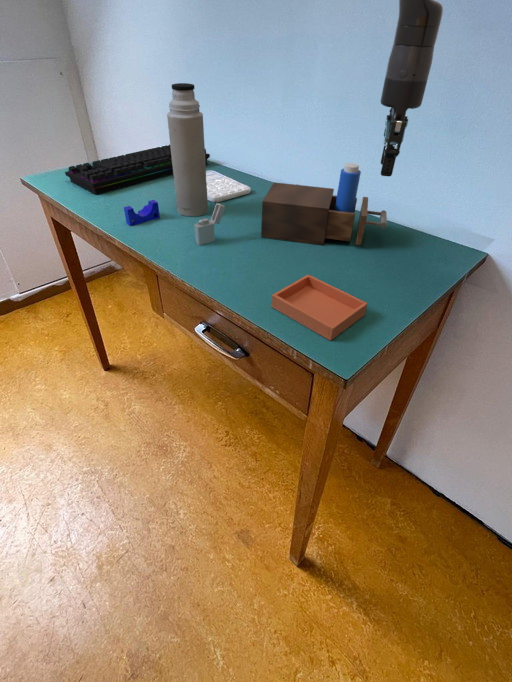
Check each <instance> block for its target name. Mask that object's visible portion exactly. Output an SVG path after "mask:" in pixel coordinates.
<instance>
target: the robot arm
mask: <svg viewBox="0 0 512 682" xmlns="http://www.w3.org/2000/svg"><path fill="white" fill-rule="evenodd" d="M443 12H444V8H443V5H442V4H441V2H439V1H437V0H398V18H397V23H396V27H395V31H394V32H395V33H394V38H393V43H392V47H391V51H390V54H389V57H388V61H387V66H386V71H385V76H384V81H383V86H382V90H381V91H382V92H381V97H380V104H381V105H382V106H384V107H387V108H390V109H389V114H386V117H385V123H384V125H385V127H384V129H383V130H384V131H383V138H384V139H383V142H382V143H383V147H382V154H381V159H380V165H381V169H380V175H381V177H392V176H393V173H394V168H395V163H396V159H397V157H398V156H399V155H400V153H401V145H402V144H403V142H404V137H405V133H406V132H405V131H406V129H407V127H408V124H409V117H408V116H407V115H406V114H407V112H408V110H410V109H411V110H413V109H418V108H420V107H421V106H422V104H423V99H424V96H425V92H426V89H427V88H426V87H427V84H428V79H429V77H430V72H431V68H432V64H433V59H434V50H435V46H436V42H437V39H438V34H439V32H440V31H439V30H440V26H441V24H442V23H441V22H442V17H443V14H444V13H443Z"/></svg>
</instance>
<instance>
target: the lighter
mask: <svg viewBox="0 0 512 682" xmlns="http://www.w3.org/2000/svg"><path fill="white" fill-rule="evenodd" d="M225 209H226V205H224V204H222V203H220V202H216V204H215V206H214V209H213V212H212V215H211V217H210V219H208V217H205V218H202V219H199V221H198V223H195V224H194V234H195V235H194V236H195V239H194V240H195V244H196V245H197V246H204V245H206V244H210V243H214V242H216V241H215V240H216V239H215V237H216V236H215V225H220V223H221V220H222V218H223V215H224V212H225Z"/></svg>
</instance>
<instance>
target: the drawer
mask: <svg viewBox="0 0 512 682" xmlns="http://www.w3.org/2000/svg"><path fill="white" fill-rule="evenodd" d="M336 199H337V195H335V194H333V196H332V200H331V204H330V208H329V212H328V219H327V226H326V233H325V239H329V240H336V241H344V242H351V239H352V233H353V229H354V223H355V217H356V211H355V210H356V206H357V202H358V197H356V200H355V206H354V211H353V213H350V212H341V211H335V205H336ZM360 205H361V206H360V211H359V215H358V221H357V227H356V235H355V236H356V237H355V245H356V246H362V244H363V243H362V242H363V238H364V233H365V228H366V225H368V226H369V225H370V226H376V227H380V228H381V229H386V228H387V227H388V222H387V221H388V216H387V210H384V209H383V210H381V211H375V210H368V208H369V197H368V196H363V197H362V200H361V204H360ZM368 215H373V216H379V219H380V220H379V221H371V220H368V219H367V218H368Z"/></svg>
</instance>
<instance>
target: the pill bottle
mask: <svg viewBox="0 0 512 682" xmlns="http://www.w3.org/2000/svg"><path fill="white" fill-rule="evenodd" d="M359 169H360V165H359V164H358V163H354V162H347V163H345V164H344V166H343V168H341V170H340V175H339V179H338V180H339V181H338V187H337V195H336V196H337V199H336V205H335V211H341V212H350V213H353V211H354V206H355V200H356V198H357V194H358V189H359V185H360V184H359V183H360V179H361V175H362V174H361V173H362V171H361V170H359Z"/></svg>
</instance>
